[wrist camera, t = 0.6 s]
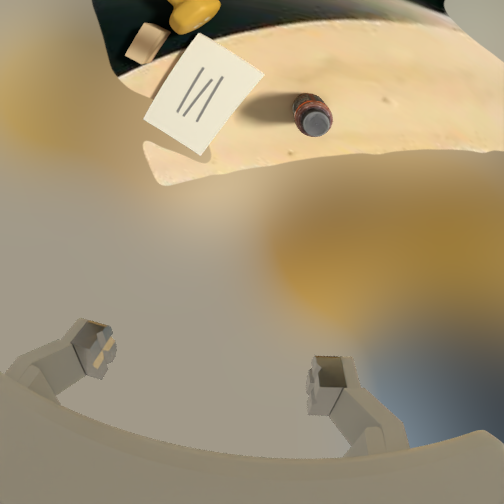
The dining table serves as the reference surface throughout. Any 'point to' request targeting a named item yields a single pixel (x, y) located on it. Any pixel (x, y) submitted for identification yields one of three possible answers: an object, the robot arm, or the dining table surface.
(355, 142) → the dining table surface
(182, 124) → the board
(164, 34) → the block
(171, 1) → the dumbbell
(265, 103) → the dining table surface
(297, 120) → the supplement bottle
